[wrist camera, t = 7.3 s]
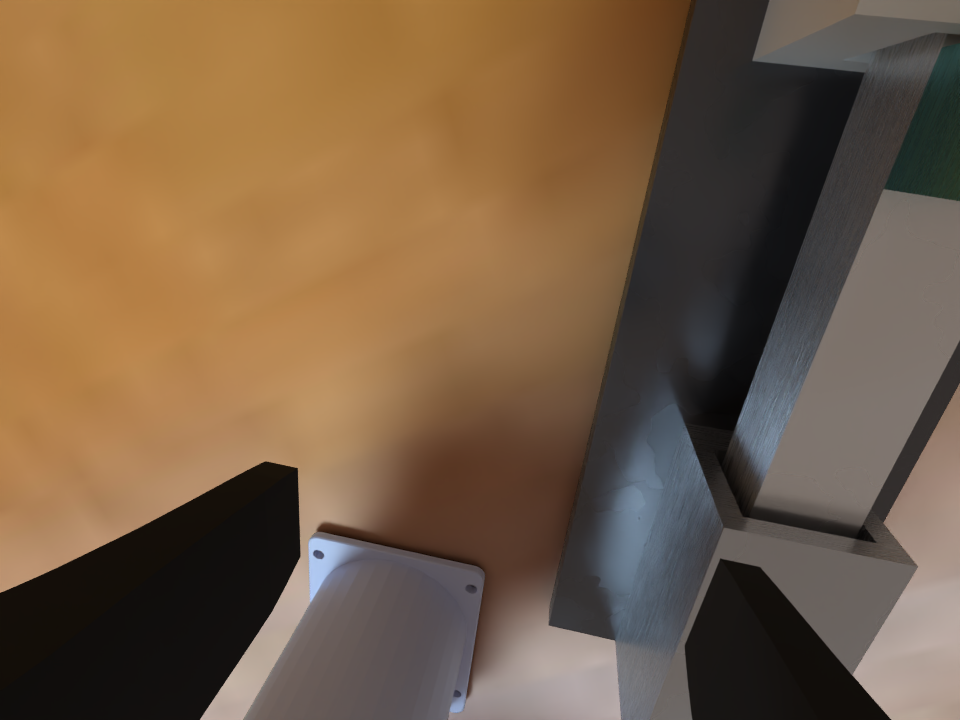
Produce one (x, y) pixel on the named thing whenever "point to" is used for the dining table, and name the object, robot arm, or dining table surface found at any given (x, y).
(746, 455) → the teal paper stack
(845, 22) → the socket
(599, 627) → the grey long angular block
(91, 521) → the dining table surface
